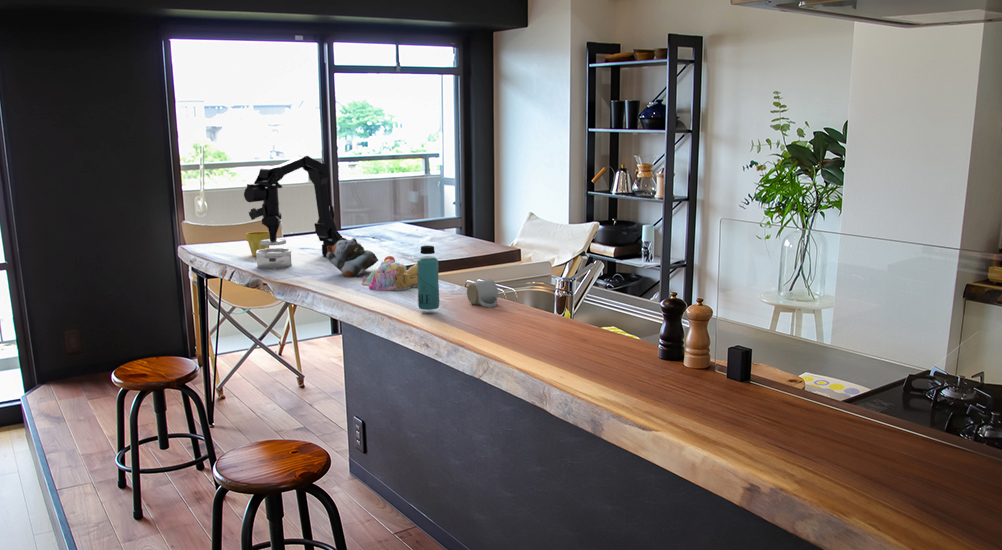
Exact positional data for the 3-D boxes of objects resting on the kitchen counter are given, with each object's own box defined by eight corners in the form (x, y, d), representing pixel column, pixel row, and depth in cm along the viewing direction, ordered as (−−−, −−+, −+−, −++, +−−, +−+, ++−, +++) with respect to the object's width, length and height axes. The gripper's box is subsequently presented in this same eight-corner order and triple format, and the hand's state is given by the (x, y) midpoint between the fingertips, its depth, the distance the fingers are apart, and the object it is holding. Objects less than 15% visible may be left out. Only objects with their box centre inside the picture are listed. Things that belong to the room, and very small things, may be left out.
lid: (286, 241, 300) (286, 228, 299) (285, 244, 291) (284, 231, 290) (261, 242, 298) (261, 229, 297) (259, 245, 289) (258, 232, 288)
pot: (292, 261, 307) (291, 246, 305) (290, 269, 289) (289, 253, 288) (259, 262, 304) (258, 247, 303) (255, 271, 286) (254, 255, 285)
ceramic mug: (465, 302, 234) (465, 279, 233) (486, 299, 238) (486, 277, 237) (482, 310, 226) (482, 286, 224) (504, 306, 230) (504, 283, 228)
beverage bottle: (440, 309, 225) (439, 244, 221) (439, 314, 219) (438, 247, 215) (418, 309, 225) (417, 244, 221) (416, 315, 219) (415, 247, 215)
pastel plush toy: (443, 282, 266) (442, 257, 265) (402, 295, 246) (401, 267, 245) (387, 275, 279) (387, 251, 277) (344, 287, 259) (343, 261, 257)
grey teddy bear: (352, 279, 270) (330, 241, 269) (335, 288, 280) (314, 252, 279) (385, 260, 282) (365, 223, 280) (367, 269, 292) (347, 234, 290)
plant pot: (246, 254, 325) (244, 231, 323) (270, 252, 329) (269, 230, 327) (248, 257, 316) (247, 234, 314) (274, 256, 320) (272, 233, 318)
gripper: (251, 198, 298) (254, 237, 302) (246, 203, 281) (249, 244, 284) (280, 197, 301) (282, 236, 304) (277, 202, 283) (279, 243, 286)
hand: (273, 239), depth 294 cm, fingers closed on lid, 3 cm apart
